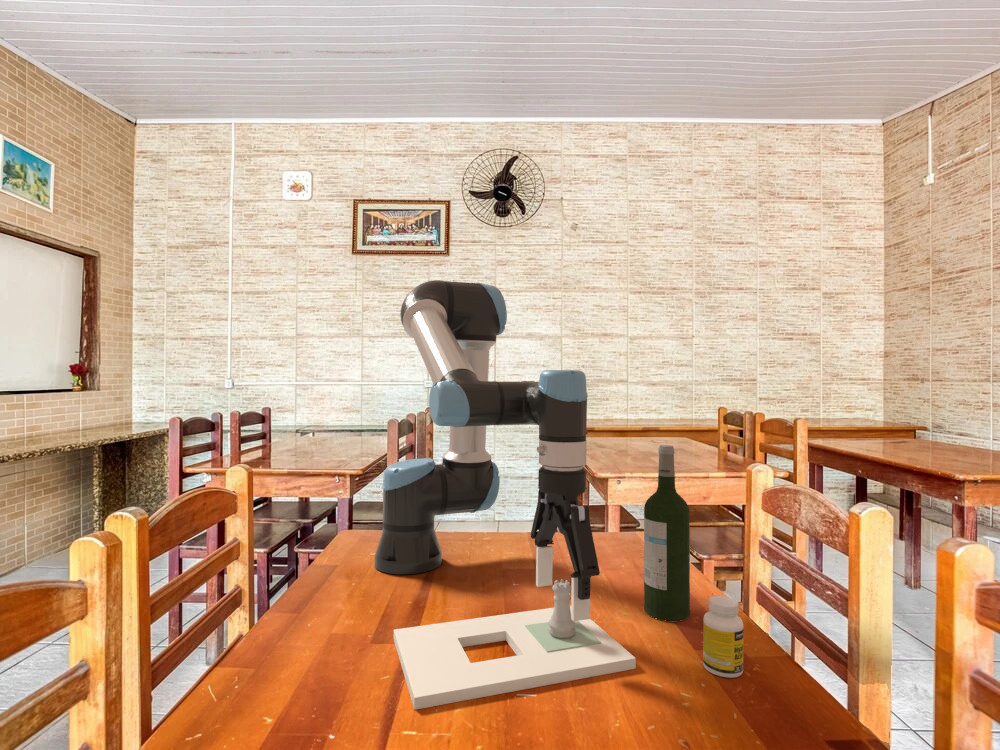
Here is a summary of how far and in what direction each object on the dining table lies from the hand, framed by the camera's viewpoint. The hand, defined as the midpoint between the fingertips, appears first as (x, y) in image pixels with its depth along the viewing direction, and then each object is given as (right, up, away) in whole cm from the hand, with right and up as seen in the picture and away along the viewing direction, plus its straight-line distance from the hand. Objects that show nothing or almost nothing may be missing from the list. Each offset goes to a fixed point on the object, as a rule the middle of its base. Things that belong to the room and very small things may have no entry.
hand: (561, 601), depth 86 cm
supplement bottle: (+23, -7, -8) cm, 25 cm away
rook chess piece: (0, -5, 0) cm, 5 cm away
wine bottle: (+20, -7, +12) cm, 24 cm away
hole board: (-8, -7, -3) cm, 11 cm away
